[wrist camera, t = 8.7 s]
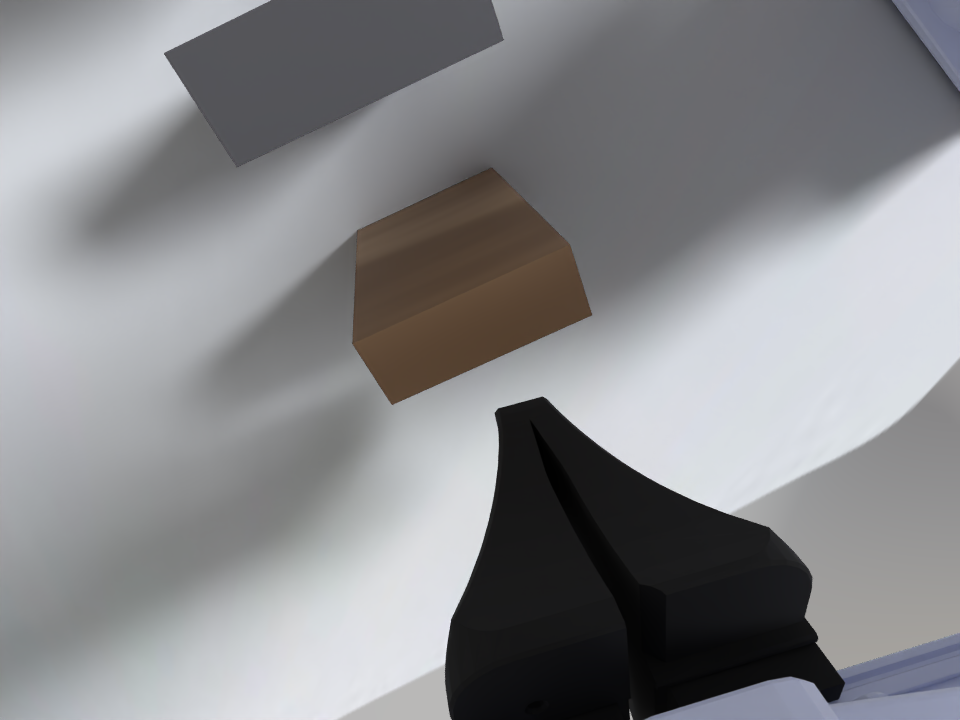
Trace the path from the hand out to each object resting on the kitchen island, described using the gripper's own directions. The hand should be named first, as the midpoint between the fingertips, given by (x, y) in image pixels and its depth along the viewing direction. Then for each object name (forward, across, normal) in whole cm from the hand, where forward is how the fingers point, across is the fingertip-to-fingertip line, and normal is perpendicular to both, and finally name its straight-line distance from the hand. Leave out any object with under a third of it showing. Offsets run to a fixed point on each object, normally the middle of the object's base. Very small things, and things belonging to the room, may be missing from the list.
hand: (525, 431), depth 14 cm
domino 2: (+5, +1, -4) cm, 7 cm away
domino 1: (+5, +2, -9) cm, 11 cm away
